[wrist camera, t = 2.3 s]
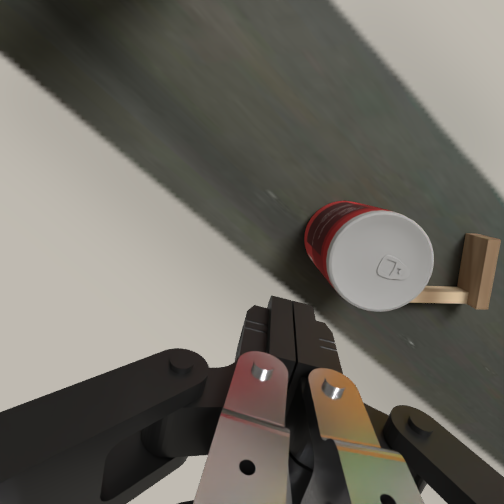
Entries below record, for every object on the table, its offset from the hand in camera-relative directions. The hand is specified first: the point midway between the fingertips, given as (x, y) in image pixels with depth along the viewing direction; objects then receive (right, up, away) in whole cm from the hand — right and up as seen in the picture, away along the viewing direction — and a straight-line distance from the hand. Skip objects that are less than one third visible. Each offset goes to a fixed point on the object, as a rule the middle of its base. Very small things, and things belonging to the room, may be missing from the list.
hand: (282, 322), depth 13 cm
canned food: (+8, +4, +24) cm, 26 cm away
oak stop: (+17, +1, +25) cm, 30 cm away
